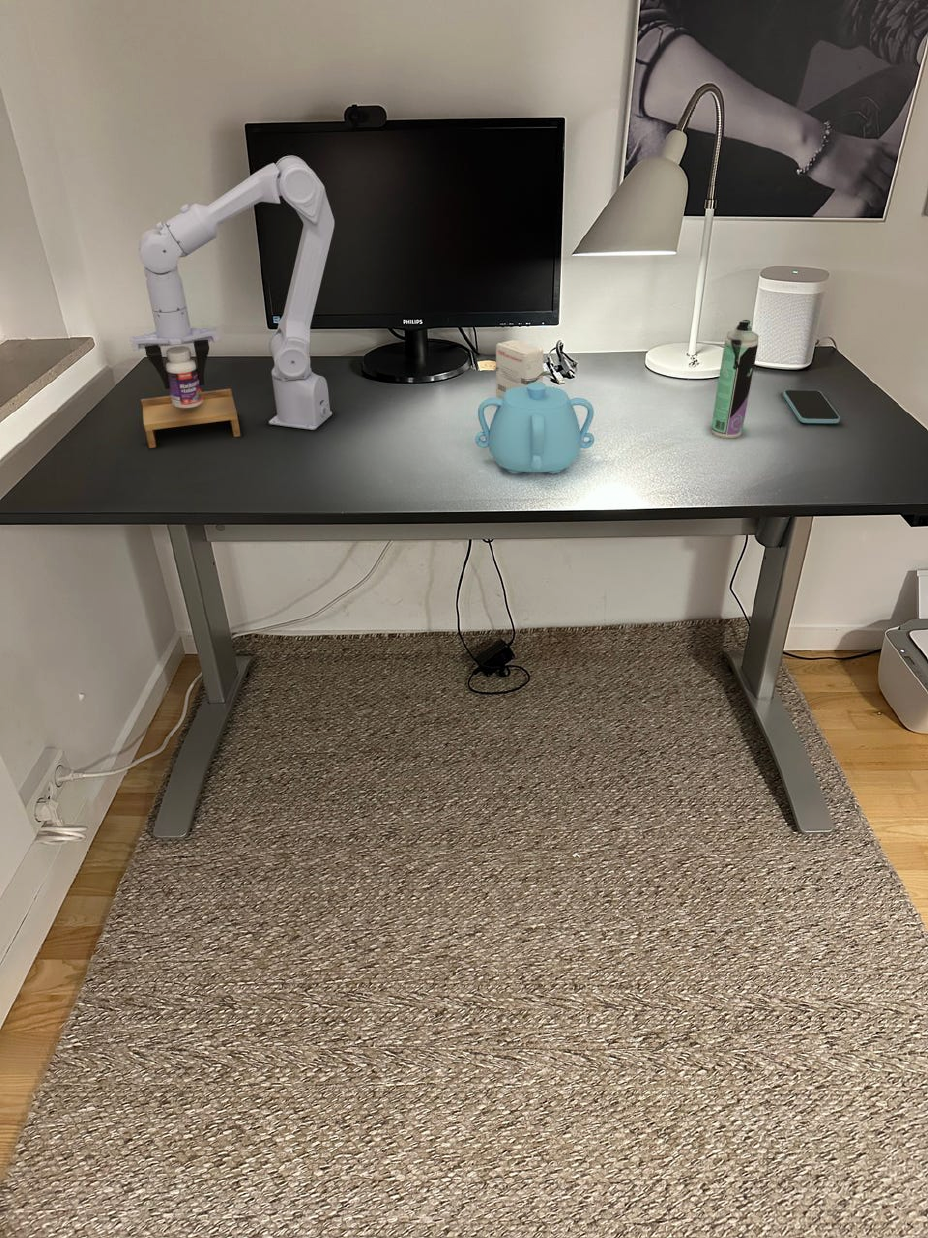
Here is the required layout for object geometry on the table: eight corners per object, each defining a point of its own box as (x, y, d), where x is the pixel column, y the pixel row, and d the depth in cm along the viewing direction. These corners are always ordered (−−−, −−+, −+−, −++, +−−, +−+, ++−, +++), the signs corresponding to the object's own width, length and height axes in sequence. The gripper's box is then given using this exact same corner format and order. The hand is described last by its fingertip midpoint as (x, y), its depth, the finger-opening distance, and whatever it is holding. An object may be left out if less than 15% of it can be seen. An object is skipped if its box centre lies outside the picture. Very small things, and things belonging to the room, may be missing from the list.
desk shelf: (235, 417, 171) (230, 388, 168) (240, 436, 164) (235, 406, 161) (147, 428, 167) (141, 398, 164) (149, 448, 160) (142, 417, 157)
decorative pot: (539, 433, 164) (542, 360, 156) (601, 464, 153) (607, 387, 145) (467, 458, 156) (466, 381, 148) (527, 492, 145) (529, 412, 138)
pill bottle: (185, 411, 160) (175, 357, 154) (166, 404, 162) (155, 351, 157) (210, 401, 163) (200, 348, 157) (190, 395, 166) (180, 342, 160)
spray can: (742, 439, 161) (763, 326, 149) (710, 437, 162) (728, 325, 150) (741, 426, 165) (761, 316, 154) (710, 424, 166) (727, 314, 154)
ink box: (543, 410, 172) (546, 348, 166) (524, 416, 170) (526, 355, 163) (513, 396, 178) (514, 337, 171) (493, 403, 175) (494, 342, 168)
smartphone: (819, 390, 177) (841, 419, 164) (818, 395, 177) (840, 425, 165) (782, 389, 177) (801, 418, 165) (781, 394, 178) (800, 424, 165)
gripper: (124, 318, 148) (142, 398, 156) (214, 309, 151) (228, 387, 159) (124, 306, 153) (141, 383, 161) (211, 298, 157) (224, 374, 165)
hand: (184, 384), depth 161 cm, fingers closed on pill bottle, 5 cm apart
